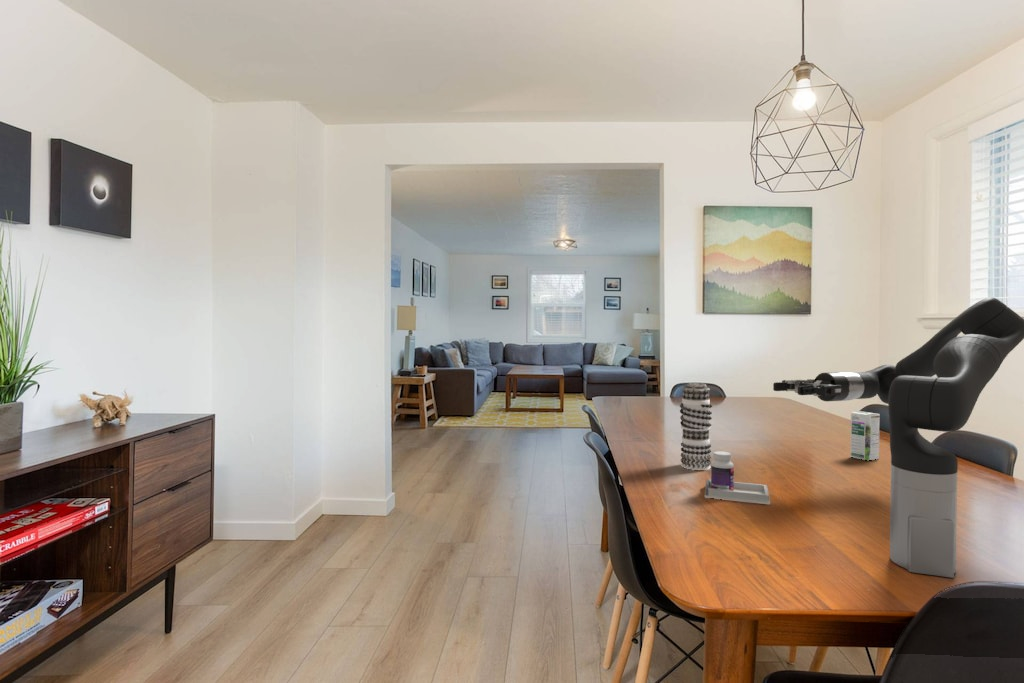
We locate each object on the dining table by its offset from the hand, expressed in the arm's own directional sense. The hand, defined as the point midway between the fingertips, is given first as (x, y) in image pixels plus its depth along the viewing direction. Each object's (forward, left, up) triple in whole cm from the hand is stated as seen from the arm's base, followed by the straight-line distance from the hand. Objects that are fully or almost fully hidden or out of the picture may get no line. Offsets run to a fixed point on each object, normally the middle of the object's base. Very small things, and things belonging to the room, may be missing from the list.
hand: (786, 388), depth 135 cm
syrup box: (+43, -27, -26) cm, 57 cm away
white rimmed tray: (-9, +12, -26) cm, 30 cm away
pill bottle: (-9, +15, -26) cm, 31 cm away
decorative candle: (+15, +22, -26) cm, 38 cm away
